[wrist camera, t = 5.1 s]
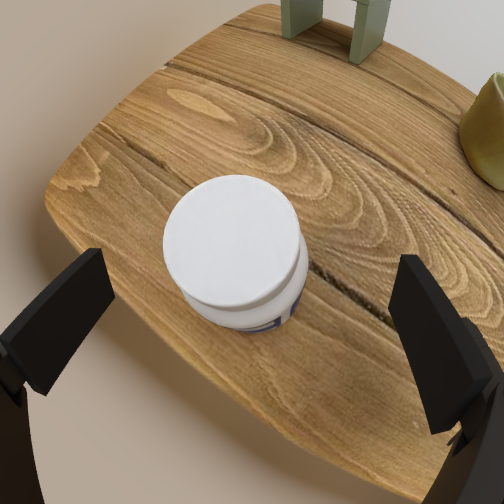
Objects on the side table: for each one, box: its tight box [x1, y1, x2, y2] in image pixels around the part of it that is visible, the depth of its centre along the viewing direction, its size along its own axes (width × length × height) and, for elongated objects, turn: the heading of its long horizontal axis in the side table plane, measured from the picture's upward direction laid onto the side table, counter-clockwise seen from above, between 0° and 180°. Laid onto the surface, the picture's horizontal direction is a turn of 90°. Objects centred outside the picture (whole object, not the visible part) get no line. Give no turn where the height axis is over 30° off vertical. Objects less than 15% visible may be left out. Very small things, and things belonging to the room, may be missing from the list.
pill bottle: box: [163, 175, 308, 334], centre depth 14 cm, size 6×6×10 cm
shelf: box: [281, 0, 391, 65], centre depth 23 cm, size 10×8×9 cm
